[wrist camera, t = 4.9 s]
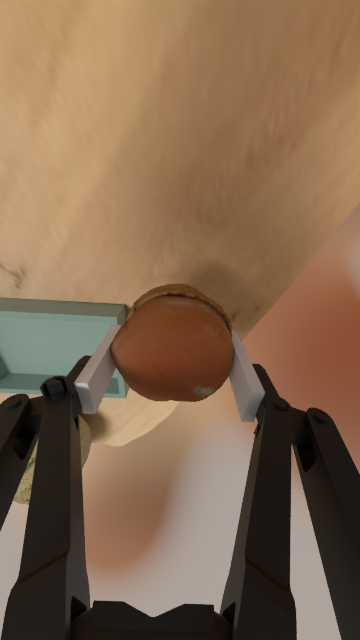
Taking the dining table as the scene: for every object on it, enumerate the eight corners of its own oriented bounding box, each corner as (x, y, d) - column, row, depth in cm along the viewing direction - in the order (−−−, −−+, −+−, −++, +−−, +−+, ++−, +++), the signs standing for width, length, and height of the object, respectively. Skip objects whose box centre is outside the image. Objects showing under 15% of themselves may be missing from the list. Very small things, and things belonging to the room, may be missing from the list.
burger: (147, 262, 14) (133, 281, 10) (249, 313, 16) (272, 346, 12) (109, 354, 18) (88, 394, 14) (193, 385, 20) (196, 428, 16)
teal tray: (-29, 296, 29) (-63, 307, 25) (125, 304, 30) (116, 317, 26) (8, 373, 36) (-13, 392, 32) (131, 379, 37) (125, 398, 33)
